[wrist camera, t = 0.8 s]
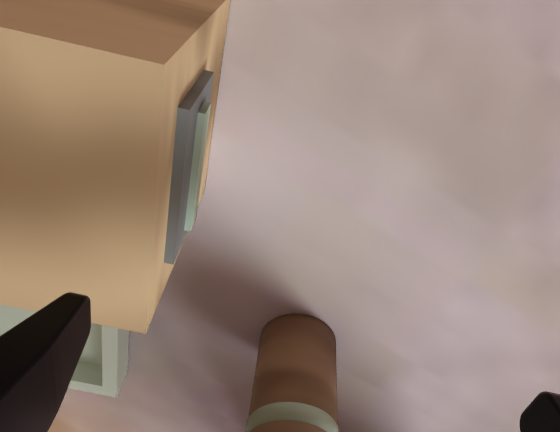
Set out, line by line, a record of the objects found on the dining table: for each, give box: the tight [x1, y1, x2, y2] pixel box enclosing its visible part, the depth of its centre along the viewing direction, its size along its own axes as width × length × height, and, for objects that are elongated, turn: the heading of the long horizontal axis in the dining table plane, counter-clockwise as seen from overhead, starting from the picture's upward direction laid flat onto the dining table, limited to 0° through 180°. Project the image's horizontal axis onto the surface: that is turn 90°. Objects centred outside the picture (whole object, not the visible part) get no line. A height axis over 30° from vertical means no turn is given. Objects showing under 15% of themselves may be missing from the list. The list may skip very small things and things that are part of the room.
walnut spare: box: [245, 314, 339, 432], centre depth 22 cm, size 4×4×7 cm
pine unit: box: [0, 0, 230, 334], centre depth 15 cm, size 8×12×8 cm, turn 78°
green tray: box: [0, 304, 129, 398], centre depth 24 cm, size 11×10×2 cm
